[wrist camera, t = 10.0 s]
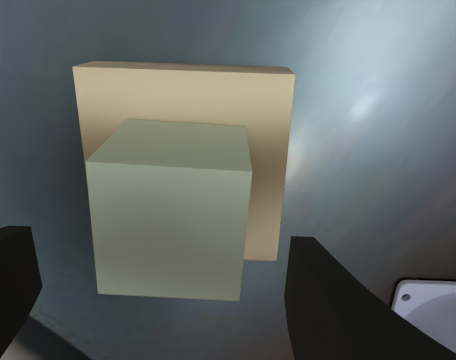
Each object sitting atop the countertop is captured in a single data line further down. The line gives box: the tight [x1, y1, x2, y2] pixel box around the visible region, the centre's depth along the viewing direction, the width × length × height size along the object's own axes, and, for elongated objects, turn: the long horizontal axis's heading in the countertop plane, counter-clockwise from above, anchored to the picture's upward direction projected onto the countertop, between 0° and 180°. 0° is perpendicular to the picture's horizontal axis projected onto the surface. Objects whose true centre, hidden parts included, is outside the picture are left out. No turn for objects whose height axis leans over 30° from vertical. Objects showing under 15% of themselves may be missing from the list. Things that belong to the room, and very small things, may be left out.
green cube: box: [85, 119, 252, 301], centre depth 14 cm, size 5×5×5 cm
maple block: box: [73, 61, 295, 261], centre depth 18 cm, size 9×9×3 cm
